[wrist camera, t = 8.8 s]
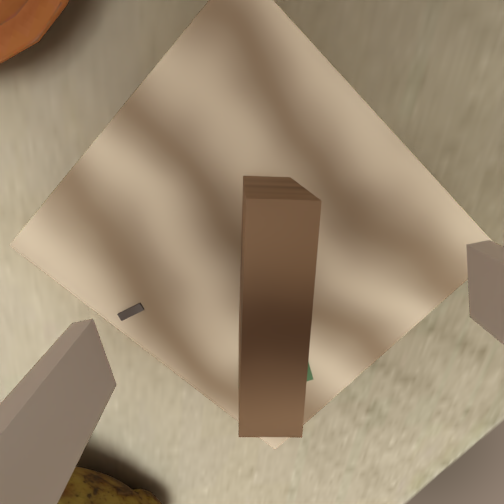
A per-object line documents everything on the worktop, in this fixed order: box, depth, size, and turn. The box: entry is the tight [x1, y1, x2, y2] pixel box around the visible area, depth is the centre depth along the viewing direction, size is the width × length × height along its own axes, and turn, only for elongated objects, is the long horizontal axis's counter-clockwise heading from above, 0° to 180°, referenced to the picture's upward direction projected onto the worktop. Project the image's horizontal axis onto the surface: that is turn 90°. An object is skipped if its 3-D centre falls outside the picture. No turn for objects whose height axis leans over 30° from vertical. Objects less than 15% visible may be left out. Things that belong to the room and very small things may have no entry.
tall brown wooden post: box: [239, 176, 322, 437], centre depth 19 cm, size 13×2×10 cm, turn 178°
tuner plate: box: [9, 0, 493, 450], centre depth 25 cm, size 20×22×2 cm
